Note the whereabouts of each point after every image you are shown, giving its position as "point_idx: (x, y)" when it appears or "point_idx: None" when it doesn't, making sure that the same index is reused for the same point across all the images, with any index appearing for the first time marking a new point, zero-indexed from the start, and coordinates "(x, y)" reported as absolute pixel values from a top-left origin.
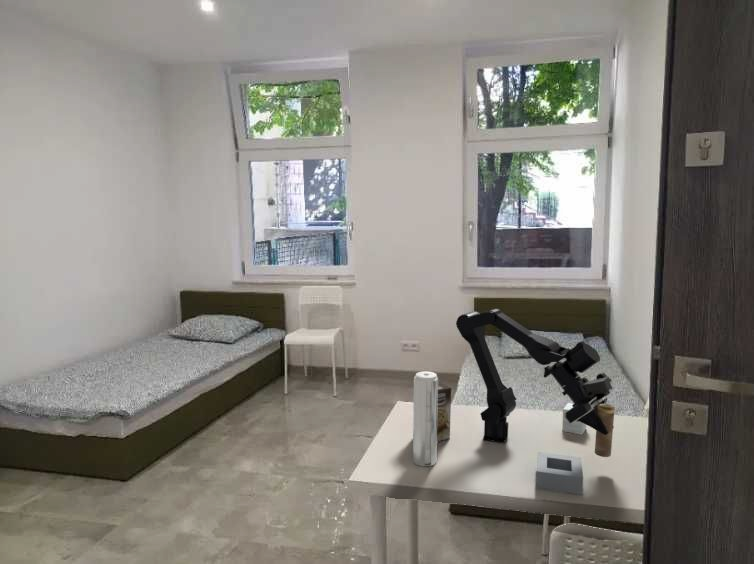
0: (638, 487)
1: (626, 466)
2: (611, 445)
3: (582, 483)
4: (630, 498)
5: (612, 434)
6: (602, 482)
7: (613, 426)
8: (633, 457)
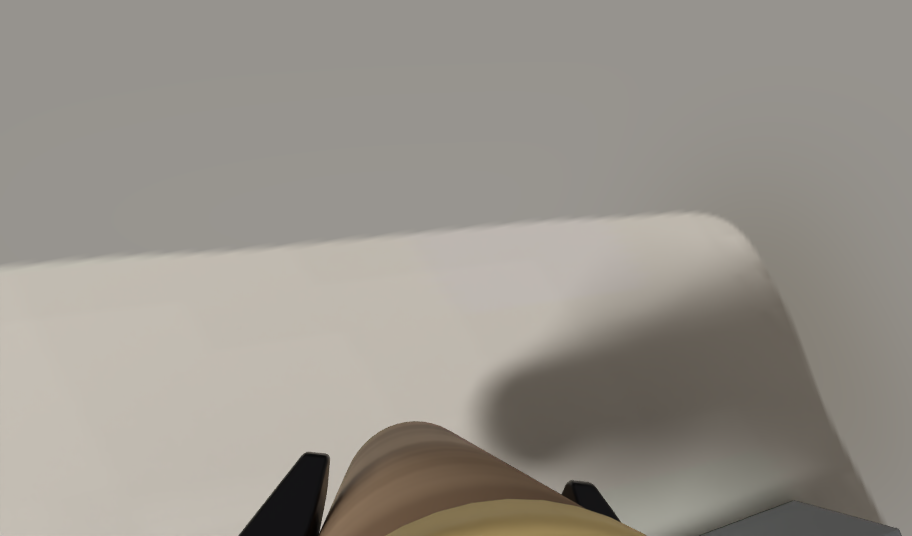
0: (509, 225)
1: (249, 326)
2: (423, 427)
3: (861, 520)
4: (659, 250)
5: (423, 438)
6: (572, 426)
7: (310, 460)
8: (61, 303)
